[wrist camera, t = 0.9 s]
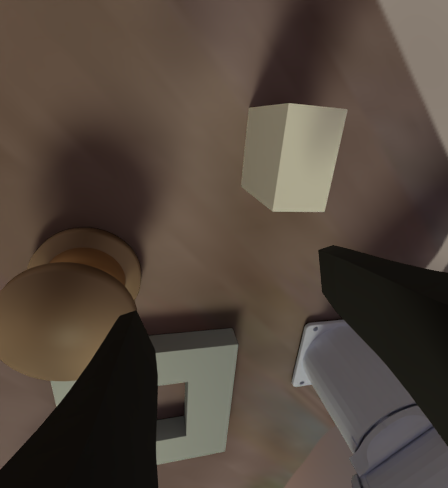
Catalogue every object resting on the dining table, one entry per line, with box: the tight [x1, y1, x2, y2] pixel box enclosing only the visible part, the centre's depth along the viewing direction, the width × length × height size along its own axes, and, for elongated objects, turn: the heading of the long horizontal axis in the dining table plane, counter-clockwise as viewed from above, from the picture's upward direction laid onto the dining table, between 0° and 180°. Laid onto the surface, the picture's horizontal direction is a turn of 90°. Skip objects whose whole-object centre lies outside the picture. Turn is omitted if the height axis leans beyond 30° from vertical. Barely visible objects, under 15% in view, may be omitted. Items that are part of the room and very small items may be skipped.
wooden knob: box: [0, 227, 141, 381], centre depth 17 cm, size 7×7×6 cm
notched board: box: [51, 328, 238, 465], centre depth 25 cm, size 14×14×2 cm
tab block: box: [241, 103, 348, 212], centre depth 16 cm, size 3×5×6 cm, turn 175°
